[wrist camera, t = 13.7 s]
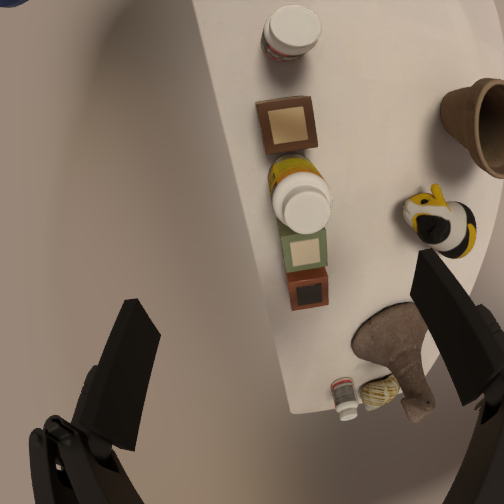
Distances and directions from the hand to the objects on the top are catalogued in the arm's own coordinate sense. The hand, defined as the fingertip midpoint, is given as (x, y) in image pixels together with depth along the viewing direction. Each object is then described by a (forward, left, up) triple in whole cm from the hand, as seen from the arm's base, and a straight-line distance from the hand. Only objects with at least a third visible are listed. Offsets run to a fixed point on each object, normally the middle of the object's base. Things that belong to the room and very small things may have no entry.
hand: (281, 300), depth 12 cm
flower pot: (+13, +24, -22) cm, 35 cm away
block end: (+14, -7, -22) cm, 27 cm away
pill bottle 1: (-8, +12, -22) cm, 26 cm away
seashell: (+58, -19, -22) cm, 64 cm away
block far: (+9, -3, -22) cm, 24 cm away
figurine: (+22, +12, -22) cm, 33 cm away
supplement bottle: (+3, +1, -22) cm, 22 cm away
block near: (-2, +5, -22) cm, 22 cm away
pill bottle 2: (+48, -24, -22) cm, 57 cm away
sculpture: (+40, -6, -22) cm, 45 cm away
